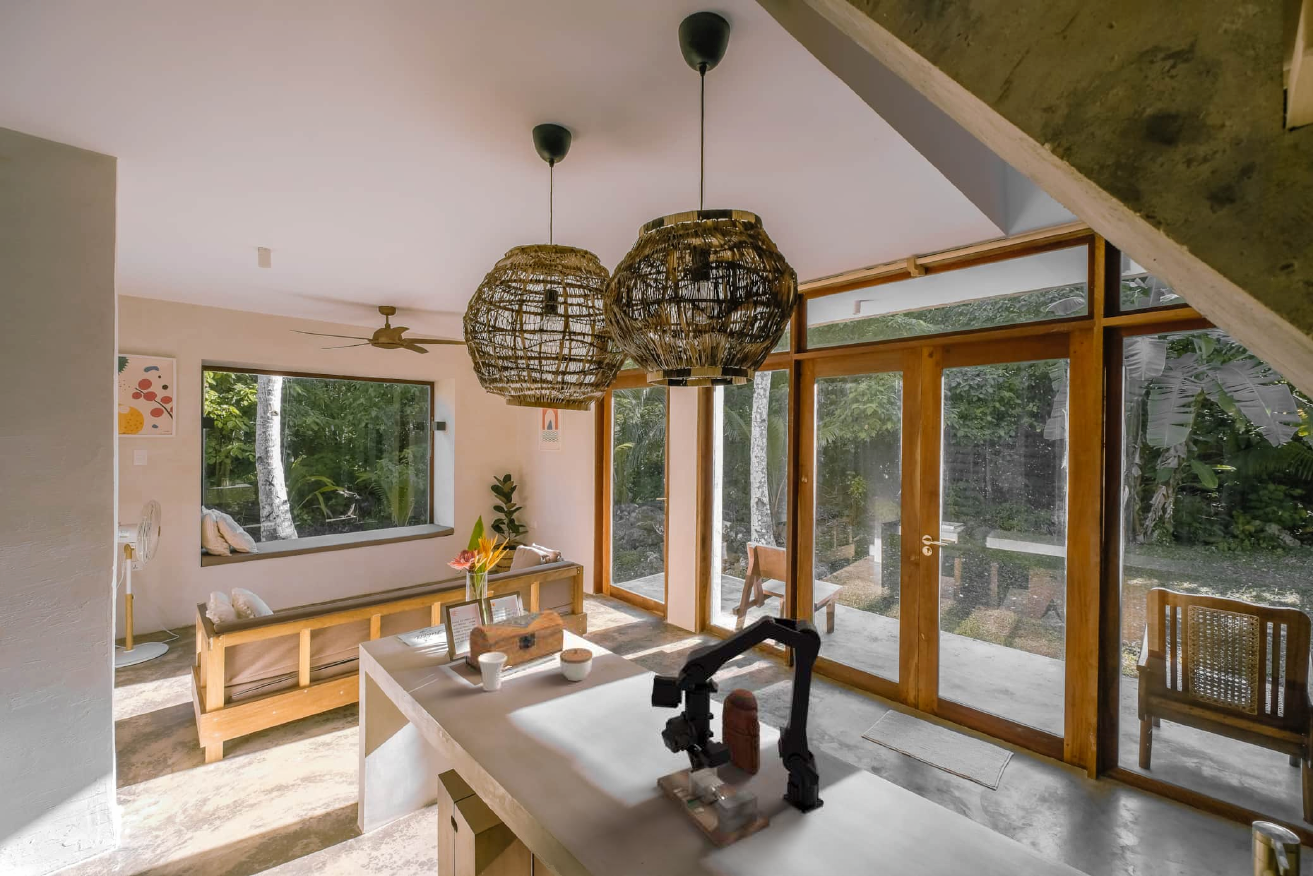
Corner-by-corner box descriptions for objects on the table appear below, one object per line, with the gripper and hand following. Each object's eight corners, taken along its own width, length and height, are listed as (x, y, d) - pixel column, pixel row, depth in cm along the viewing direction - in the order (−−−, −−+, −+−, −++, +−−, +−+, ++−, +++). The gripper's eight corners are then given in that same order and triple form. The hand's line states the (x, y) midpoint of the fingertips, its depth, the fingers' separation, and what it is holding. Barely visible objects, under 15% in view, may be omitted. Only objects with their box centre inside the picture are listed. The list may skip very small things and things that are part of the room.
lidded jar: (553, 676, 197) (553, 648, 197) (580, 667, 204) (580, 640, 204) (571, 687, 189) (571, 657, 189) (598, 677, 197) (598, 649, 196)
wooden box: (491, 676, 198) (491, 634, 198) (469, 661, 210) (468, 622, 210) (566, 652, 219) (566, 615, 218) (542, 640, 231) (541, 605, 230)
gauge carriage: (714, 783, 135) (714, 762, 135) (739, 806, 127) (740, 783, 127) (679, 796, 131) (679, 774, 130) (703, 820, 123) (704, 797, 123)
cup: (500, 694, 184) (500, 662, 184) (472, 692, 185) (472, 660, 185) (512, 682, 192) (512, 652, 192) (485, 680, 194) (485, 650, 194)
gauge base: (703, 768, 144) (703, 742, 144) (769, 826, 124) (769, 795, 124) (657, 785, 138) (657, 757, 138) (719, 848, 117) (719, 816, 117)
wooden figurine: (769, 767, 145) (769, 694, 145) (753, 777, 141) (753, 702, 140) (732, 748, 154) (732, 679, 153) (715, 757, 150) (716, 686, 149)
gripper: (646, 700, 139) (646, 766, 139) (690, 736, 123) (690, 811, 123) (686, 689, 145) (685, 753, 145) (733, 723, 128) (733, 794, 129)
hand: (697, 776), depth 135 cm, fingers closed
